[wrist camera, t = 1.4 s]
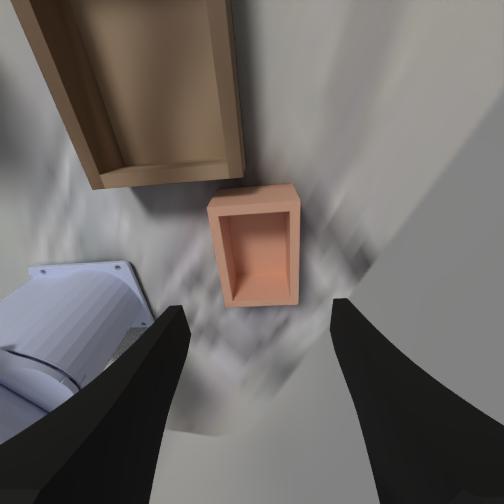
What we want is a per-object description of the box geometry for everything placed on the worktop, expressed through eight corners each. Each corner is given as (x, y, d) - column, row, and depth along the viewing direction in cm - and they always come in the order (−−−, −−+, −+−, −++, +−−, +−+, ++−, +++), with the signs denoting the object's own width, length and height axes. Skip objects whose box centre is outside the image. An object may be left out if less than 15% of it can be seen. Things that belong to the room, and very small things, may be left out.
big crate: (122, 176, 17) (92, 189, 14) (28, -88, 11) (-63, -168, 8) (246, 166, 16) (243, 177, 13) (219, -121, 10) (202, -222, 7)
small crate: (231, 276, 21) (225, 307, 18) (217, 189, 17) (206, 207, 14) (292, 273, 21) (298, 304, 17) (292, 183, 17) (300, 200, 13)
